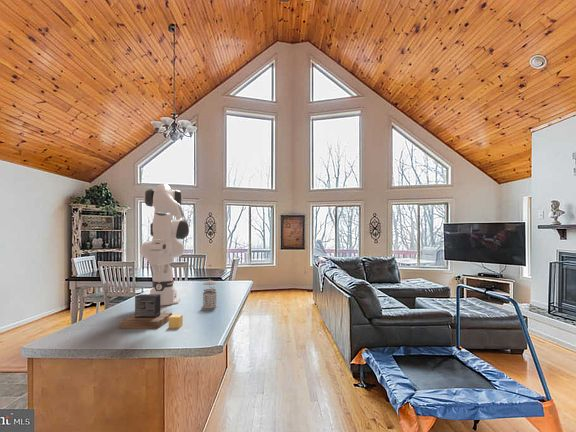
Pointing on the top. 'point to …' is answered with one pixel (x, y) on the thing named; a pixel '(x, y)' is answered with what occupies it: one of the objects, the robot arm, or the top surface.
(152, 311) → the small box
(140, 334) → the top surface
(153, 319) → the base board
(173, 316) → the mustard block
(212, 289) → the french press
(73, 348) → the top surface
